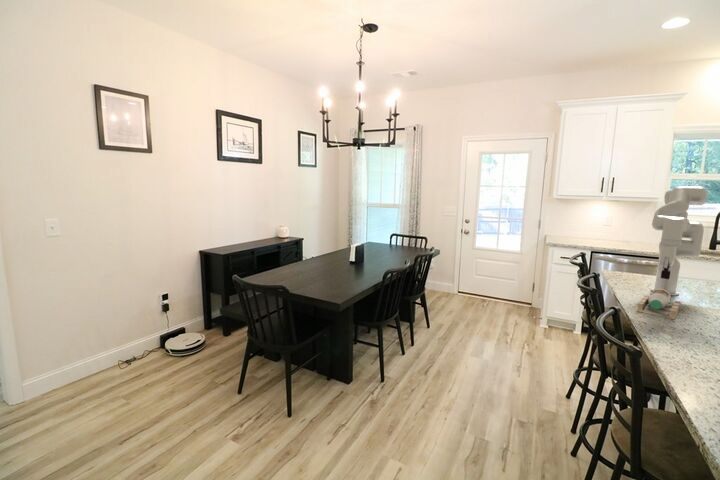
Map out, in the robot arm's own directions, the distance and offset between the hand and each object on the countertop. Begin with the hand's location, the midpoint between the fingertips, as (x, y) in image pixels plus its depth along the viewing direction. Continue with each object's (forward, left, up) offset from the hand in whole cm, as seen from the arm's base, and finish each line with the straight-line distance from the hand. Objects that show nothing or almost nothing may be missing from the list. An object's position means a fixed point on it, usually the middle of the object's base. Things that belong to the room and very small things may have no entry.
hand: (664, 278), depth 175 cm
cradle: (+7, 0, -15) cm, 17 cm away
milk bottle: (-4, -1, -10) cm, 11 cm away
